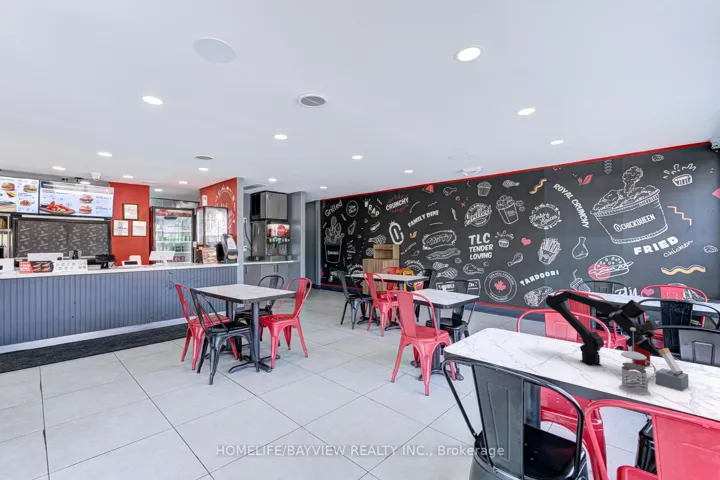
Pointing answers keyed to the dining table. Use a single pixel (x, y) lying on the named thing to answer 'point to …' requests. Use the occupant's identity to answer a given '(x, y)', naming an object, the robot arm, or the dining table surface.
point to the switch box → (672, 379)
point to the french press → (635, 373)
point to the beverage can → (644, 352)
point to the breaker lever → (670, 360)
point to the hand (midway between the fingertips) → (659, 355)
